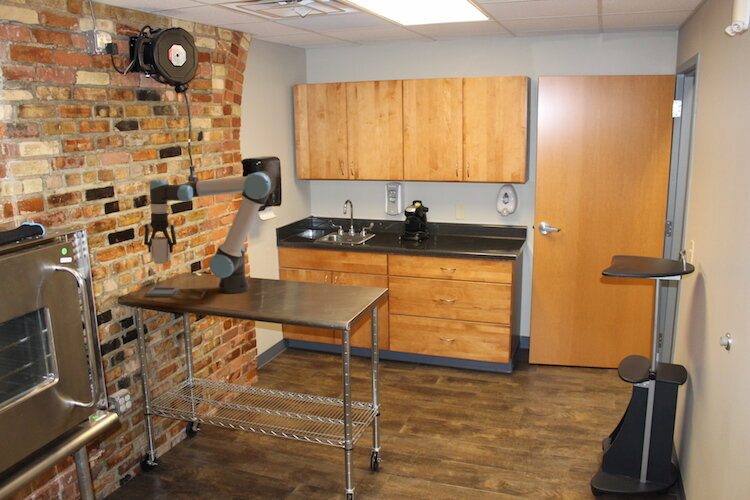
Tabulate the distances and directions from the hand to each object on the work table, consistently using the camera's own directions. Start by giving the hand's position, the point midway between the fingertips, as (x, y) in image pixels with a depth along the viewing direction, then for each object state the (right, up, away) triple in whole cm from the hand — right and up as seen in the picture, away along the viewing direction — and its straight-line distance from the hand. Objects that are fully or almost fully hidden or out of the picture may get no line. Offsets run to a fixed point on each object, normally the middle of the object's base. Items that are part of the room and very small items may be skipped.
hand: (161, 259), depth 296 cm
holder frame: (+14, -18, +2) cm, 22 cm away
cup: (0, -2, 0) cm, 2 cm away
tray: (0, -17, +4) cm, 17 cm away
